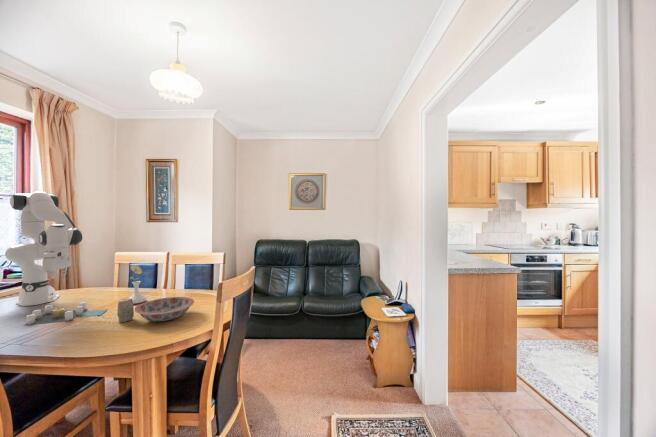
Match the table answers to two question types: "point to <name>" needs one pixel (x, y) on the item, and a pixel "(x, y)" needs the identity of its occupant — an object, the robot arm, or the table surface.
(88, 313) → the teal tile
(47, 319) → the spacer mat
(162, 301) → the ceramic bowl
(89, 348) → the table surface
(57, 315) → the brass nut
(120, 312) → the carving
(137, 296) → the flower in vase
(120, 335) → the table surface
